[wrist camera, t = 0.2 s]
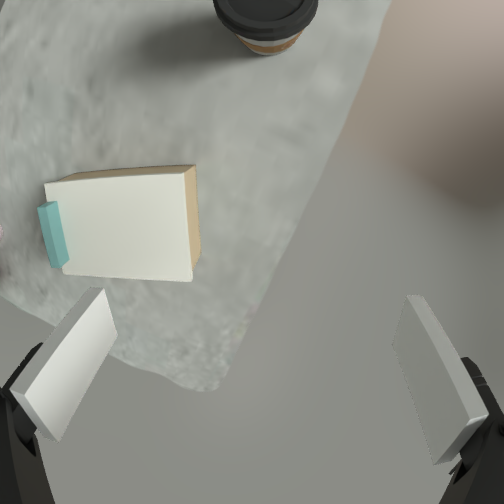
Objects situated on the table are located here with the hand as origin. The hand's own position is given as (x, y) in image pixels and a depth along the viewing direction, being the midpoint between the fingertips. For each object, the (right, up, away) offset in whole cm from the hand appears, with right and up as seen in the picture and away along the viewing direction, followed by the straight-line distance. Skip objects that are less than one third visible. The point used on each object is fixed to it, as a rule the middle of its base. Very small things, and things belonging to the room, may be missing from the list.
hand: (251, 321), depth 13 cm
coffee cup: (+2, +29, +18) cm, 34 cm away
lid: (-16, +6, +22) cm, 28 cm away
